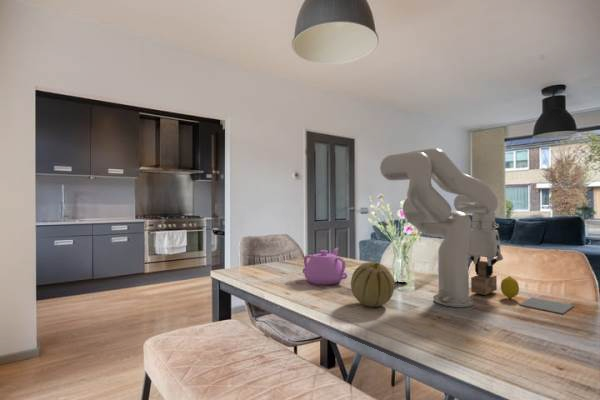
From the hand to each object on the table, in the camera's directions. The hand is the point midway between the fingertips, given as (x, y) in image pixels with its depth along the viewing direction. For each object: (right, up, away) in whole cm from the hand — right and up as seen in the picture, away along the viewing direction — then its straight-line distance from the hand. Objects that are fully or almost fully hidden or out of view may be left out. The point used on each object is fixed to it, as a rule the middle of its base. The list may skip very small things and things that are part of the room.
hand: (483, 274), depth 131 cm
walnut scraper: (0, -6, 0) cm, 6 cm away
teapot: (-57, -8, +23) cm, 62 cm away
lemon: (+6, -7, -7) cm, 12 cm away
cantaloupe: (-45, -8, -13) cm, 47 cm away
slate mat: (+13, -7, -15) cm, 21 cm away
